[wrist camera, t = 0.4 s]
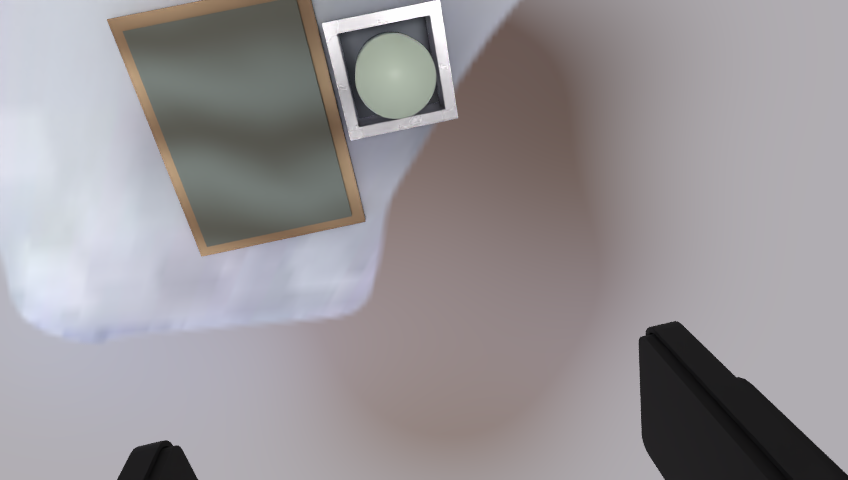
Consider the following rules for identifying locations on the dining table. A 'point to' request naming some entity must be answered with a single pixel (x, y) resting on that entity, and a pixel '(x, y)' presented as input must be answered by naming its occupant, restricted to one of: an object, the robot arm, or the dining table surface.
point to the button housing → (439, 55)
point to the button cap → (394, 75)
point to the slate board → (243, 118)
